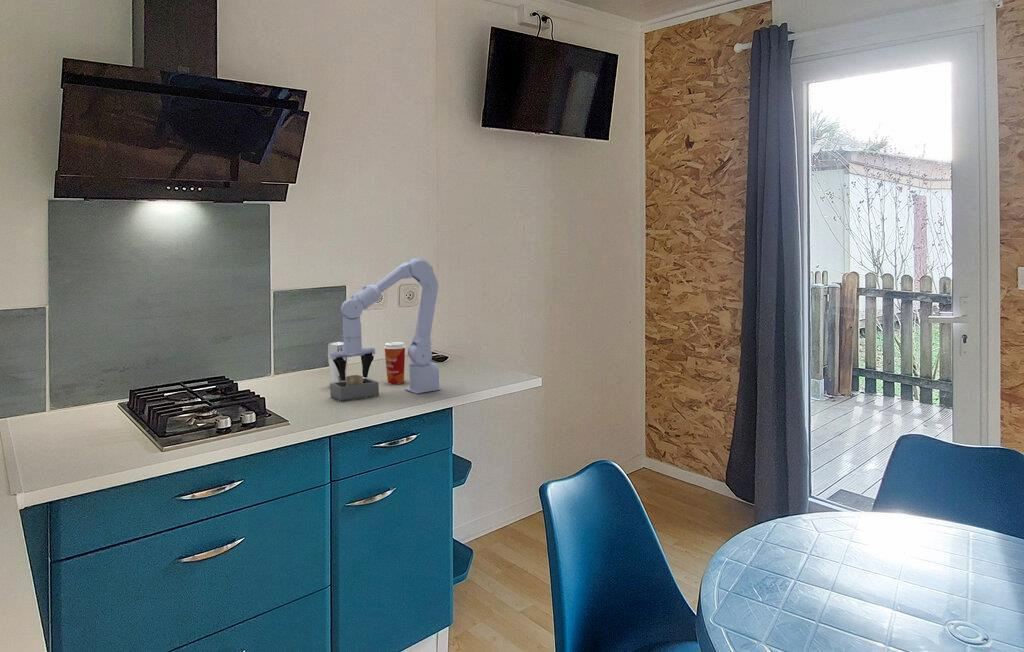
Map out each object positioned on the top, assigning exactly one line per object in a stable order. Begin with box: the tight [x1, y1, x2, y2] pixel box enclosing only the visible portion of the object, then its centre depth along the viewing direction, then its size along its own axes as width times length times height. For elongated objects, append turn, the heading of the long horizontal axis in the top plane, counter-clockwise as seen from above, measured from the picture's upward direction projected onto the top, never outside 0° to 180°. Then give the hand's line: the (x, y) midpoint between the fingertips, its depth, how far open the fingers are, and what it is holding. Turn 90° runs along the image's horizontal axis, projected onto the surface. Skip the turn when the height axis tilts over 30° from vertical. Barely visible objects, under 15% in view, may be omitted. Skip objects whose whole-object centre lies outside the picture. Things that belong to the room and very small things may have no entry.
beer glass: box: [327, 341, 350, 383], centre depth 236 cm, size 7×7×15 cm
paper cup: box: [383, 341, 406, 385], centre depth 241 cm, size 8×8×14 cm
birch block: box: [346, 374, 364, 386], centre depth 222 cm, size 4×4×6 cm
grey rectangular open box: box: [329, 377, 380, 403], centre depth 222 cm, size 13×8×4 cm, turn 126°
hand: (354, 378), depth 222 cm, fingers open, 7 cm apart
